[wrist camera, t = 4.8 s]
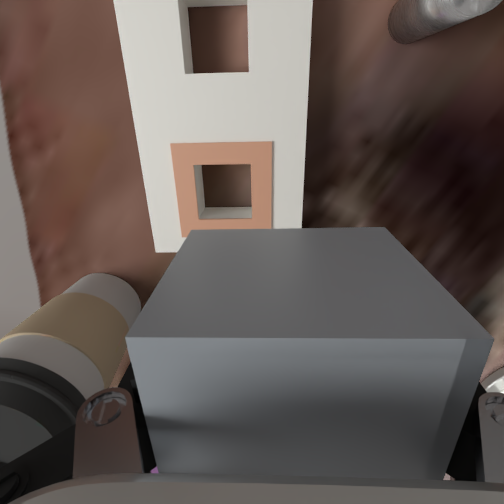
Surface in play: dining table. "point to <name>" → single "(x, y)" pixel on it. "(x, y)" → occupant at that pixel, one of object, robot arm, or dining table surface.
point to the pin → (432, 16)
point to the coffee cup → (61, 360)
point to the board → (218, 115)
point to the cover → (304, 357)
